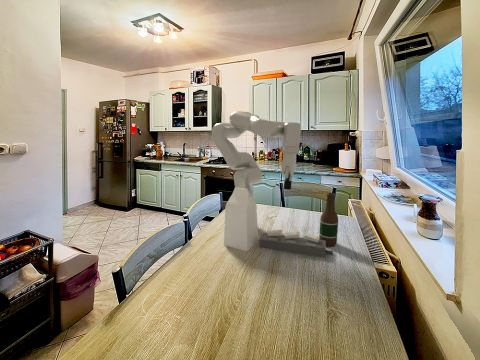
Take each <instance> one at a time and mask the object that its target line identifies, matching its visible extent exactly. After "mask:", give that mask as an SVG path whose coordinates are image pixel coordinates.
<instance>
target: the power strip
mask: <svg viewBox="0 0 480 360" xmlns="http://www.w3.org/2000/svg"><path fill="white" fill-rule="evenodd" d="M267 233H268V232H263V233H262V234H261V235H260V237H258V248H259V249H266V250H273V251H280V252H285V253H293V254H299V255H306V256H314V257H321V258H326V254H331V255H333V253H334V250H327V249H326V248H327V247H326V241H325V240H319V241H318V243H317V242H314V241H311V240H308V239H305V238H304V237H300V236H299V237H298V238H288V239H286V238H285V235H286V234H281V235H277V236H268V234H267Z"/></svg>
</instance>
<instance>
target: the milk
mask: <svg viewBox="0 0 480 360" xmlns="http://www.w3.org/2000/svg"><path fill="white" fill-rule="evenodd" d="M224 208H225V209H224V228H223V229H224V230H223V231H224V232H223V233H224V235H223V236H224V237H223V246H224V247H225V246H226V247H230V248H234V249H238V250H242V251H246V252H248V251H249V250H250V249H251V248H252V247H253V246H255V244H257V243H259V233H258V232H259V230H258V229H259V228H258V210H257V208H258V205H257V202H256V200H255V199H254V197H253V198H252V197H251V196H250V194H249V191H248V189H244V188H235V187H234V189H233V192H232V194H231V196H230V197H229V199H228V201H227V202H226V204H225V207H224Z"/></svg>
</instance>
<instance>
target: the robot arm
mask: <svg viewBox="0 0 480 360" xmlns="http://www.w3.org/2000/svg"><path fill="white" fill-rule="evenodd" d="M228 119H229V122H219V123H216V124H215V125H213V127H212V129H211V140H212V142H213V143H214V145H215V147H216V148H217V150H219V152H220V154H221V156H222V157H223V159H224V161H225V162H226V163H225V164H226V165H227V166H228V167H229V169H230V170H232V171H233V170H234V171H235V173H234V175H233V181H234V182H233V183H234V189H235V188H244V189H248V191H249V194H250V196H251V197H252V198H253V199H254V192H253V189H252V185H257V184H259V183H260V182H261V181H262V180H263V172H262V170H261V168H260V166H259V165H258V163H257V161H256V160H255V158H254V157H253V156H252V154H251V153H249V152H247V151H246V152H245V151H238V150H237V148H236V146H235V145H234V143H233V142H232V141H230V140H229V139H235V138H239V137H240V136H241V135H243V134H244V133H245V132H247V131H248V132H251V133H252V134H255V135H256V136H259V137H262V138H263V137H264V138H268V139H275V138H276V139H282V148H281V149H282V150H281V153H282V154H283V156H282V162H281V170H280V171H281V172H280V173H281V176H283V175H284V183H283V189H284V190H287V191H288V190H289V191H291V189H292V183H293V182H292V179H293V174H295V169H296V160H297V155H299V153H300V144H301V143H300V142H301V134H302V133H301V132H302V125H301V123H300V122H293V121H290V122H285V121H278V120H277V121H276V120H266V119H262V118H260V116H259V115H258V114H254V113H253V114H252V113H251V112H248V111H242V110H241V111H240V110H239V111H238V110H236V111H234V112H232V113H231V114H230V116H229V118H228Z"/></svg>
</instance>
